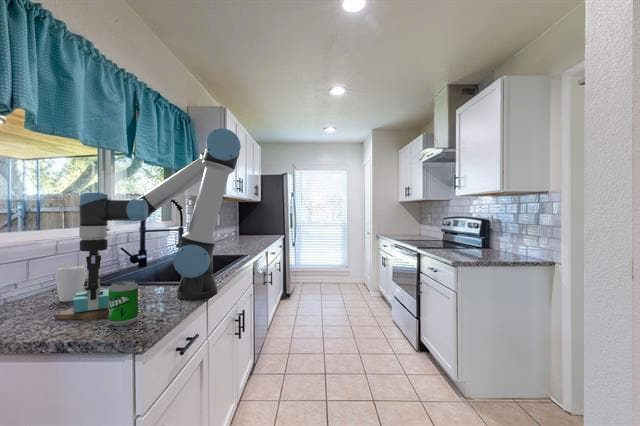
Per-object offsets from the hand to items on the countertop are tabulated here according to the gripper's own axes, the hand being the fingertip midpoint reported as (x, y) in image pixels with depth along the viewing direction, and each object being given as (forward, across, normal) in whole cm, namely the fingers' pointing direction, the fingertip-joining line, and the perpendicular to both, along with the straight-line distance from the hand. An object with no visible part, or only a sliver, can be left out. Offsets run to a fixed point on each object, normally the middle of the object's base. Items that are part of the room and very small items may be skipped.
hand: (93, 305), depth 103 cm
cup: (+2, +23, +8) cm, 24 cm away
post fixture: (+2, 0, 0) cm, 2 cm away
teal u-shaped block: (0, 0, 0) cm, 0 cm away
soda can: (+2, -17, -8) cm, 19 cm away
